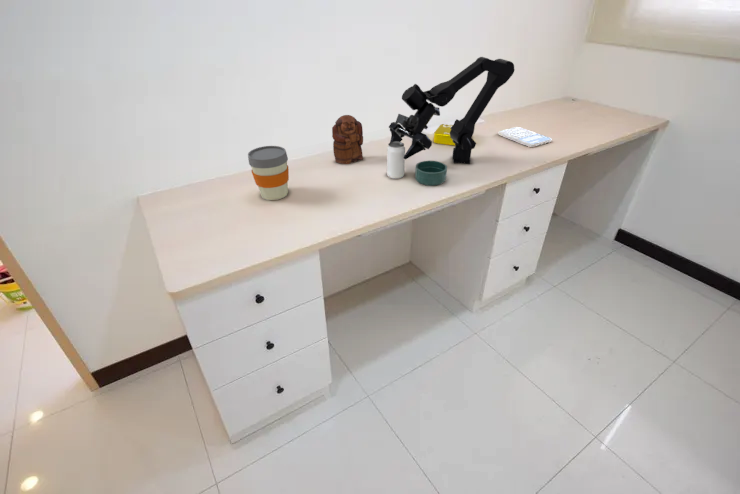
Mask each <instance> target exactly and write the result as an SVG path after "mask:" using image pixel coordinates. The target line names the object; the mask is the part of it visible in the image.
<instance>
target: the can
mask: <svg viewBox="0 0 740 494" xmlns="http://www.w3.org/2000/svg"><path fill="white" fill-rule="evenodd" d="M387 144H388V146H387V148H386V175H387V177H388V178H390V179H393V180H396V179H397V180H398V179H402V178H403V177H404V176H405V163H406V162H405V161H406V160H405V159H404V156H405V154H406V147H405V143H404V142H402V141H401V142H390V141H389V143H387Z"/></svg>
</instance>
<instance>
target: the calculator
mask: <svg viewBox="0 0 740 494" xmlns="http://www.w3.org/2000/svg"><path fill="white" fill-rule="evenodd" d="M498 136H500V137H503V138H505V139H508V140H511V141H513V142H516V143H518V144H521V145H523V146H526V147H527V148H528V147H529V148H535V147H539V146H541V145H546V144H549V143H551V142H552V141H553V139H552V138H551V137H549V136H546V135H543V134H540V133H538V132H535V131H532V130H529V129H526V128H523V127H520V126H514V127H511V128H507V129H503V130H499V131H498Z"/></svg>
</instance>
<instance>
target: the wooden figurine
mask: <svg viewBox="0 0 740 494" xmlns="http://www.w3.org/2000/svg"><path fill="white" fill-rule="evenodd" d="M363 130H364V129H363V124H362V123H361V122H360V121H359V120H357V119H356V117H355V116H353V115H350V114H343V115H341V116H340V117H339V118H337V119H336V120H335V124H334V125H332V127H331V138H332V139H333V143H332V146H333V147H332V150H333V156H334V160H335V162H336V163H338V164H342V165H350V164H351V163H356V162H358V161H361V160H363V159H364V158H363V156H364V155H363V149H362V146H363V144H364V136H363V134H364V131H363Z"/></svg>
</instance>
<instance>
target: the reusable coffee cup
mask: <svg viewBox="0 0 740 494" xmlns="http://www.w3.org/2000/svg"><path fill="white" fill-rule="evenodd" d="M247 158H248V165H249V166H250V168H251V174H252V177H253V180H254V183H255V185H256V186H257V187H258V190H259V193H260V195H261V198H262V199H264V200H266V201H277V200H281V199H283V198H285V197H287V195H288V194H289V189H288V182H289V180H290V179H289V177H290V176H289V175H290V174H289V164H288V159H289V158H288V153H287V150H286V149H285V147H282V146H279V145H264V146H259V147H256V148H253V149H251V150H250V151H249V152H248V153H247Z"/></svg>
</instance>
